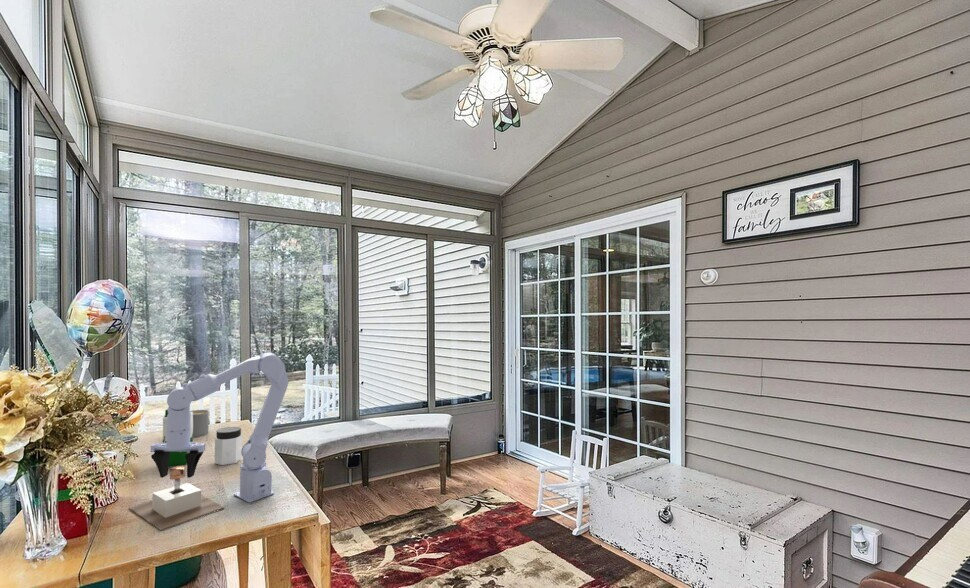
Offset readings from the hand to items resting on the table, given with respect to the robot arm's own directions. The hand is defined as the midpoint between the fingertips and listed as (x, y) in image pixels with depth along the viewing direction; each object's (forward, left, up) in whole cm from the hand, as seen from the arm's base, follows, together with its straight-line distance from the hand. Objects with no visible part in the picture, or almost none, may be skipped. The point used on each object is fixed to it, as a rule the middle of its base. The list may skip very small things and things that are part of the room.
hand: (177, 476), depth 130 cm
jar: (+28, -28, -10) cm, 41 cm away
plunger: (0, 0, -5) cm, 5 cm away
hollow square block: (0, 0, -9) cm, 9 cm away
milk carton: (+41, -16, -10) cm, 45 cm away
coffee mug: (+76, -35, -10) cm, 84 cm away
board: (0, 0, -9) cm, 9 cm away
